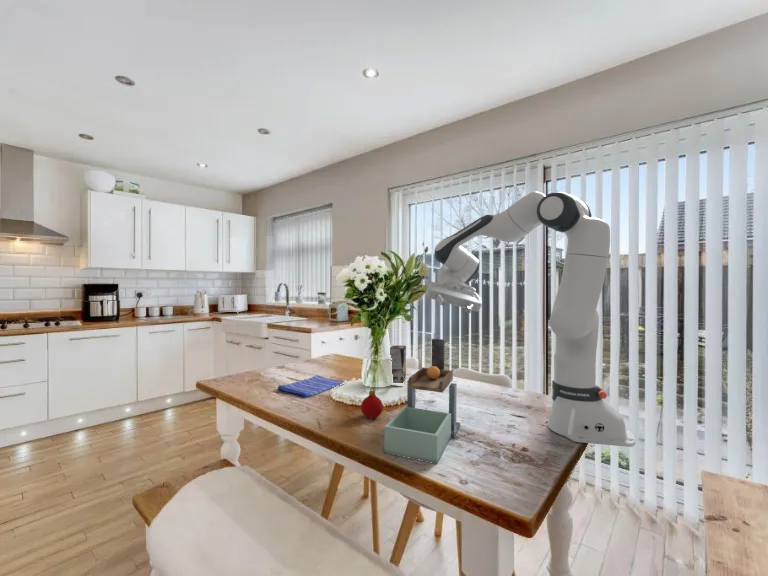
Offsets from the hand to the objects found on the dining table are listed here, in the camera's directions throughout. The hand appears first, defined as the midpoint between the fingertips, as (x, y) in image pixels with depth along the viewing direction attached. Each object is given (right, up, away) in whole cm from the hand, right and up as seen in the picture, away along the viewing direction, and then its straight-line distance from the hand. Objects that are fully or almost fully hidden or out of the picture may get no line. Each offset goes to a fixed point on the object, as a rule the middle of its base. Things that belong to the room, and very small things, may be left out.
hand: (456, 307), depth 120 cm
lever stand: (-10, -36, -12) cm, 39 cm away
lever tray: (-10, -22, -12) cm, 27 cm away
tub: (-15, -36, -23) cm, 46 cm away
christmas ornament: (-28, -36, -4) cm, 46 cm away
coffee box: (-19, -36, +35) cm, 53 cm away
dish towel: (-55, -36, +29) cm, 71 cm away
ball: (-9, -20, -10) cm, 24 cm away
